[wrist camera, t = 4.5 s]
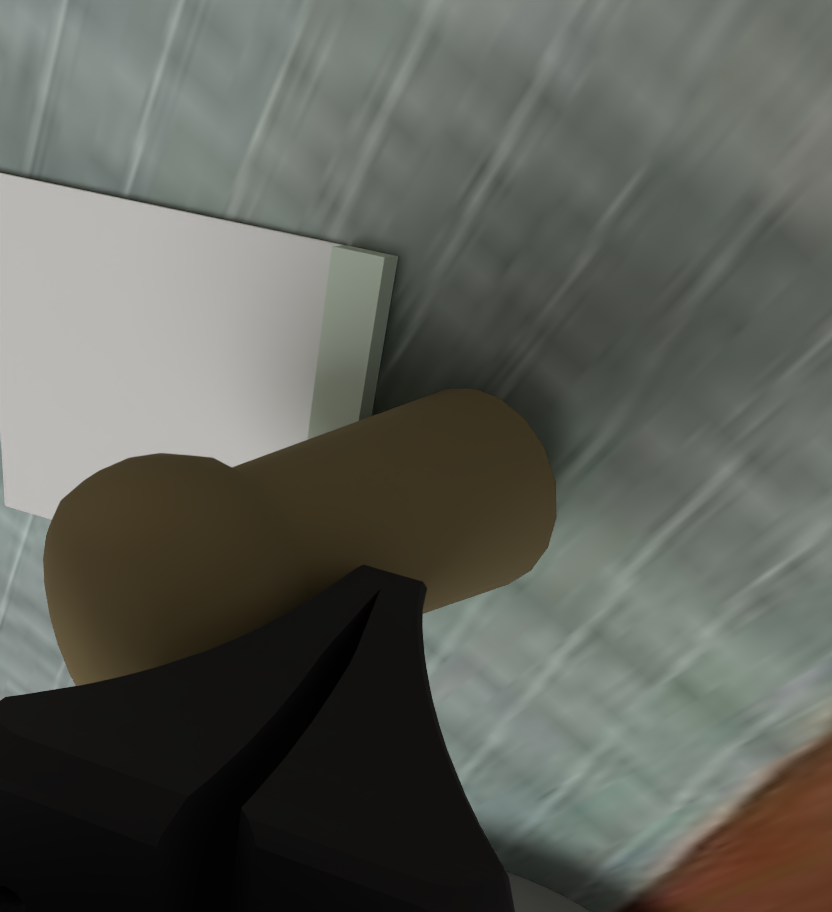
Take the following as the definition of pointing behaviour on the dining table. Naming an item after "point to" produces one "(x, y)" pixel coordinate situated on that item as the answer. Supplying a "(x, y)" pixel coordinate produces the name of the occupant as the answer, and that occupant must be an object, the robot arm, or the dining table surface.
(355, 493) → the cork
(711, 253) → the dining table surface
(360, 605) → the robot arm
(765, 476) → the dining table surface
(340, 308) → the kerb
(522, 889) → the cake pan
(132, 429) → the mat
